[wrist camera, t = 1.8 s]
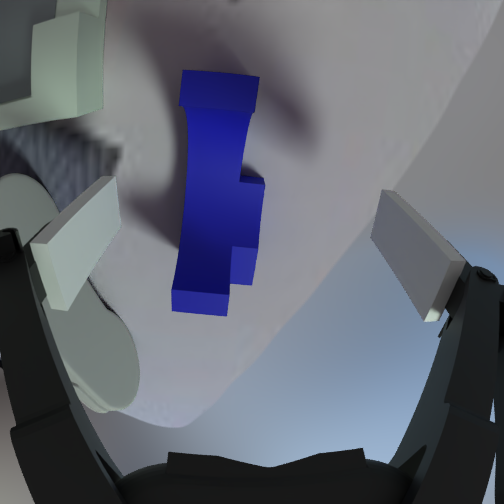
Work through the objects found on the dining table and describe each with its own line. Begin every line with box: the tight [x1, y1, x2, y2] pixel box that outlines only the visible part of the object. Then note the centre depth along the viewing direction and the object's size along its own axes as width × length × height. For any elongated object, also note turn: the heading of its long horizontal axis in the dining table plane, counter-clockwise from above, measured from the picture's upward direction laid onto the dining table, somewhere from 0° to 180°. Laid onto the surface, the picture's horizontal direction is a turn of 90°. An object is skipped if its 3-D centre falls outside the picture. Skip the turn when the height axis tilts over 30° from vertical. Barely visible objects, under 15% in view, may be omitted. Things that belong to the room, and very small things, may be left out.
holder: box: [0, 0, 107, 131], centre depth 10 cm, size 13×18×4 cm
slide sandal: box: [0, 173, 140, 413], centre depth 19 cm, size 20×2×8 cm, turn 15°
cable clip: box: [171, 70, 265, 316], centre depth 16 cm, size 12×4×6 cm, turn 172°
